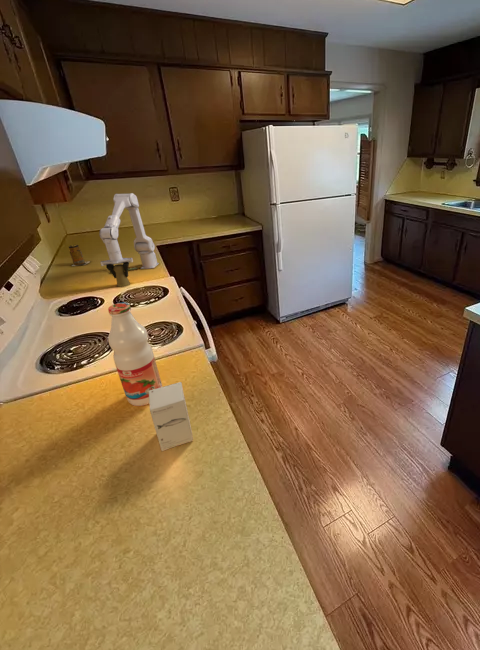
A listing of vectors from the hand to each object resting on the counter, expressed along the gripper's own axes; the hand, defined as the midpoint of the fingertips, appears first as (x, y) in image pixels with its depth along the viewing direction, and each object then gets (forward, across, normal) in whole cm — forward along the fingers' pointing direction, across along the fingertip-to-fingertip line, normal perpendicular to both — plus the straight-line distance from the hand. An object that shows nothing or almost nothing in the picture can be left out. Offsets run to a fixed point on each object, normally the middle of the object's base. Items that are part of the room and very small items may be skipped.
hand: (121, 277), depth 170 cm
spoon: (+4, -4, +25) cm, 25 cm away
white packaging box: (+5, +31, -116) cm, 120 cm away
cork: (+5, 0, 0) cm, 5 cm away
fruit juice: (+5, +22, -98) cm, 100 cm away
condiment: (+5, -33, +51) cm, 61 cm away
